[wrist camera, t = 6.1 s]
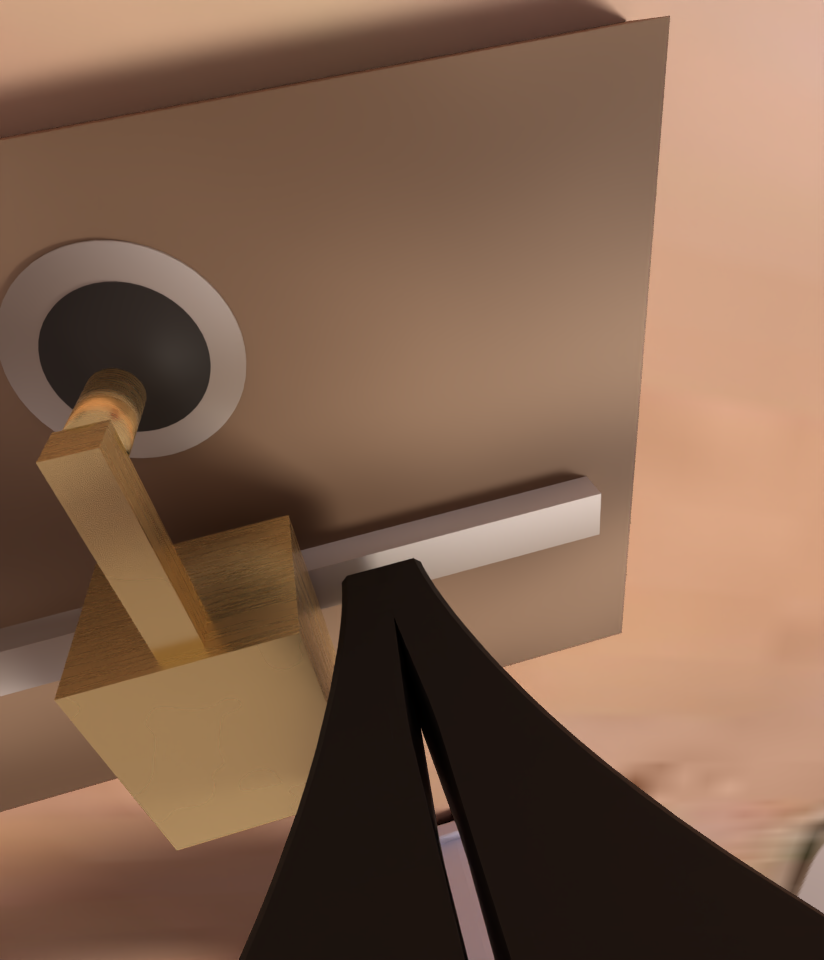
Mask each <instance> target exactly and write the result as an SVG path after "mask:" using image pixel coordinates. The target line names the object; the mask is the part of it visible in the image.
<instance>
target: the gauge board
mask: <svg viewBox="0 0 824 960" xmlns="http://www.w3.org/2000/svg"><path fill="white" fill-rule="evenodd" d="M669 22H670V16H666V17H658V18H650V19H642V20H634V21H627V22H622V23H617V24H611V25H606V26H600V27H595V28H590V29H584V30H579V31H574V32H568V33H563V34H557V35H552V36H547V37H541V38H536V39H531V40H525V41H520V42H514V43H509V44H504V45H498V46H493V47H487V48H482V49H477V50H471V51H466V52H461V53H455V54H450V55H444V56H439V57H434V58H428V59H423V60H418V61H412V62H407V63H401V64H396V65H391V66H385V67H380V68H375V69H369V70H364V71H358V72H353V73H348V74H342V75H337V76H332V77H326V78H321V79H315V80H310V81H305V82H299V83H294V84H289V85H283V86H278V87H272V88H267V89H262V90H256V91H251V92H246V93H240V94H235V95H229V96H224V97H219V98H213V99H208V100H202V101H197V102H192V103H186V104H181V105H176V106H170V107H165V108H159V109H154V110H149V111H143V112H138V113H133V114H127V115H122V116H116V117H111V118H106V119H100V120H95V121H90V122H84V123H79V124H73V125H68V126H63V127H57V128H52V129H47V130H41V131H36V132H30V133H25V134H20V135H14V136H9V137H4V138H0V812H2V811H5V810H9V809H12V808H16V807H19V806H23V805H26V804H30V803H33V802H37V801H40V800H44V799H47V798H51V797H54V796H57V795H61V794H64V793H68V792H71V791H75V790H78V789H82V788H85V787H89V786H92V785H96V784H99V783H103V782H106V781H110V780H113V779H116V778H117V777H116V775H115V774H114V773H113V772H112V770H111V769H110V768H109V767H108V766H107V764H106V763H105V762H104V761H103V759H102V758H101V757H100V756H99V754H98V753H97V752H96V751H95V750H94V748H93V747H92V746H91V745H90V743H89V742H88V741H87V740H86V739H85V737H84V736H83V735H82V734H81V732H80V731H79V730H78V729H77V727H76V726H75V725H74V724H73V723H72V721H71V720H70V719H69V718H68V716H67V715H66V714H65V713H64V712H63V710H62V709H61V708H60V707H59V705H58V704H57V703H56V702H55V700H54V699H55V696H56V693H57V689H58V686H59V683H60V680H61V676H62V673H63V670H64V667H65V663H66V660H67V657H68V653H69V650H70V647H71V644H72V640H73V637H74V634H75V631H76V627H77V624H78V621H79V617H80V614H81V611H82V608H83V604H84V601H85V598H86V595H87V591H88V588H89V585H90V582H91V578H92V575H93V572H94V568H95V565H96V564H97V562H96V560H95V559H94V557H93V555H92V554H91V552H90V550H89V549H88V547H87V546H86V544H85V542H84V541H83V539H82V537H81V536H80V534H79V532H78V531H77V529H76V528H75V526H74V524H73V523H72V521H71V519H70V518H69V516H68V515H67V513H66V511H65V510H64V508H63V506H62V505H61V503H60V501H59V500H58V498H57V497H56V495H55V493H54V492H53V490H52V488H51V487H50V485H49V484H48V482H47V480H46V479H45V477H44V475H43V474H42V472H41V470H40V469H39V467H38V466H37V464H36V462H37V460H38V458H39V456H40V454H41V452H42V450H43V449H44V447H45V445H46V443H47V441H48V439H49V437H50V436H51V434H52V433H54V432H58V431H62V430H63V428H64V426H65V424H66V422H67V420H68V418H69V416H70V414H71V412H72V410H73V409H74V407H75V405H76V403H77V401H78V399H79V397H80V395H81V393H82V391H83V389H84V387H85V385H86V383H87V381H88V379H89V378H90V377H91V376H92V375H93V374H94V373H95V372H97V371H99V370H102V369H106V368H118V369H122V370H125V371H128V372H130V373H132V374H133V375H134V376H136V377H137V378H138V379H139V380H140V381H141V383H142V384H143V386H144V388H145V390H146V403H145V406H144V410H143V413H142V416H141V420H140V423H139V426H138V429H137V433H136V436H135V439H134V443H133V446H132V449H131V452H130V456H129V458H130V460H131V462H132V464H133V466H134V468H135V470H136V472H137V474H138V476H139V478H140V480H141V482H142V484H143V486H144V488H145V490H146V492H147V494H148V496H149V498H150V500H151V502H152V504H153V506H154V508H155V510H156V512H157V514H158V516H159V518H160V520H161V522H162V524H163V526H164V528H165V530H166V532H167V534H168V536H169V538H170V540H171V542H172V544H176V543H180V542H184V541H188V540H192V539H196V538H200V537H204V536H207V535H211V534H215V533H219V532H223V531H227V530H231V529H235V528H239V527H243V526H247V525H251V524H255V523H259V522H263V521H266V520H270V519H274V518H278V517H282V516H286V515H289V518H290V521H291V523H292V526H293V529H294V532H295V535H296V538H297V541H298V544H299V547H300V550H301V553H302V556H303V559H304V562H305V564H306V567H307V570H308V573H309V576H310V579H311V582H312V585H313V588H314V591H315V594H316V597H317V600H318V603H319V605H320V608H321V611H322V614H323V617H324V620H325V623H326V626H327V629H328V632H329V635H330V638H331V641H332V643H333V646H334V649H335V652H336V653H337V648H338V640H339V632H340V623H341V612H342V581H343V580H344V579H345V577H346V576H348V575H352V574H355V573H359V572H363V571H367V570H370V569H374V568H378V567H382V566H385V565H389V564H393V563H397V562H400V561H404V560H408V559H412V558H414V559H416V560H418V561H421V563H422V565H423V567H424V569H425V571H426V572H427V574H428V575H429V577H430V579H431V580H432V582H433V583H434V585H435V586H436V588H437V589H438V591H439V592H440V593H441V595H442V596H443V598H444V599H445V600H446V602H447V603H448V604H449V606H450V607H451V608H452V610H453V611H454V612H455V614H456V615H457V616H458V617H459V618H460V620H461V621H462V622H463V623H464V625H465V626H466V627H467V628H468V629H469V630H470V632H471V633H472V634H473V635H474V636H475V637H476V639H477V640H478V641H479V642H480V643H481V644H482V645H483V647H484V648H485V649H486V650H487V651H488V652H489V653H490V655H491V656H492V657H493V658H494V659H495V660H496V661H497V662H498V663H499V664H500V665H501V666H502V667H505V666H509V665H512V664H516V663H519V662H523V661H526V660H529V659H533V658H536V657H540V656H543V655H547V654H550V653H554V652H557V651H561V650H564V649H568V648H571V647H575V646H578V645H582V644H585V643H588V642H592V641H595V640H599V639H602V638H606V637H609V636H613V635H616V634H620V633H622V621H623V608H624V595H625V582H626V570H627V557H628V544H629V531H630V519H631V506H632V493H633V480H634V468H635V455H636V442H637V430H638V417H639V404H640V391H641V379H642V366H643V353H644V340H645V328H646V315H647V302H648V289H649V277H650V264H651V251H652V238H653V226H654V213H655V200H656V188H657V175H658V162H659V149H660V137H661V124H662V111H663V98H664V86H665V73H666V60H667V47H668V35H669Z"/></svg>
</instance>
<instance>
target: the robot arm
mask: <svg viewBox="0 0 824 960" xmlns="http://www.w3.org/2000/svg"><path fill="white" fill-rule="evenodd" d="M421 729H422V732H423V735H424V738H425V740H426V743H427V746H428V749H429V752H430V754H431V757H432V760H433V763H434V765H435V768H436V771H437V774H438V776H439V779H440V782H441V785H442V788H443V790H444V793H445V796H446V799H447V801H448V804H449V807H450V810H451V812H452V815H453V818H454V821H451V822H448V823H445V824H442V825H438V826H437V822H436V816H435V810H434V804H433V798H432V792H431V786H430V780H429V774H428V768H427V762H426V756H425V750H424V744H423V738H422V732H421ZM239 960H824V914H823V913H822V912H820V911H819V910H817V909H816V908H814V907H813V906H811V905H810V904H808V903H806V902H805V901H803V900H802V899H800V898H798V897H797V896H795V895H794V894H792V893H791V892H789V891H787V890H786V889H784V888H783V887H781V886H779V885H778V884H776V883H775V882H773V881H771V880H770V879H768V878H767V877H765V876H764V875H762V874H761V873H759V872H758V871H756V870H755V869H753V868H752V867H750V866H749V865H747V864H746V863H744V862H742V861H741V860H739V859H738V858H736V857H735V856H733V855H732V854H730V853H729V852H727V851H726V850H724V849H723V848H722V847H720V846H719V845H717V844H716V843H714V842H713V841H711V840H710V839H709V838H707V837H706V836H704V835H703V834H701V833H700V832H698V831H697V830H696V829H694V828H693V827H691V826H690V825H688V824H687V823H686V822H684V821H683V820H681V819H680V818H678V817H677V816H676V815H674V814H673V813H672V812H670V811H669V810H668V809H666V808H665V807H664V806H662V805H661V804H660V803H658V802H657V801H656V800H654V799H653V798H652V797H651V796H649V795H648V794H647V793H645V792H644V791H643V790H641V789H640V788H639V787H637V786H636V785H635V784H633V783H632V782H631V781H629V780H628V779H627V778H625V777H624V776H623V775H621V774H620V773H619V772H618V771H616V770H615V769H614V768H612V767H611V766H610V765H609V764H607V763H606V762H605V761H604V760H602V759H601V758H600V757H599V756H598V755H596V754H595V753H594V752H593V751H592V750H591V749H589V748H588V747H587V746H586V745H585V744H583V743H582V742H581V741H580V740H579V739H577V738H576V737H575V736H574V735H573V734H572V733H571V732H569V731H568V730H567V729H566V728H565V727H564V726H563V725H562V724H560V723H559V722H558V721H557V720H556V719H555V718H554V717H553V716H551V715H550V714H549V713H548V712H547V711H546V710H545V709H544V708H543V707H542V706H541V705H540V704H539V703H538V702H536V701H535V700H534V699H533V698H532V697H531V696H530V695H529V694H528V693H527V692H526V691H525V690H524V689H523V688H522V687H521V686H520V685H519V684H518V683H517V682H516V681H515V680H514V679H513V678H512V677H511V676H510V675H509V674H508V673H507V672H506V671H505V670H504V669H503V667H502V666H501V665H500V664H499V663H498V662H497V661H496V660H495V659H494V658H493V657H492V656H491V655H490V653H489V652H488V651H487V650H486V649H485V648H484V647H483V645H482V644H481V643H480V642H479V641H478V640H477V639H476V637H475V636H474V635H473V634H472V633H471V632H470V630H469V629H468V628H467V627H466V626H465V625H464V623H463V622H462V621H461V620H460V618H459V617H458V616H457V615H456V614H455V612H454V611H453V610H452V608H451V607H450V606H449V604H448V603H447V602H446V600H445V599H444V598H443V596H442V595H441V593H440V592H439V591H438V589H437V588H436V586H435V585H434V583H433V582H432V580H431V579H430V577H429V575H428V574H427V572H426V571H425V569H424V567H423V565H422V563H421V561H418V560H416V559H414V558H412V559H408V560H404V561H400V562H397V563H393V564H389V565H385V566H382V567H378V568H374V569H370V570H367V571H363V572H359V573H355V574H352V575H348V576H346V577H345V579H344V580H343V581H342V612H341V623H340V632H339V640H338V648H337V653H336V659H335V665H334V671H333V676H332V682H331V687H330V692H329V697H328V701H327V706H326V710H325V714H324V718H323V722H322V726H321V730H320V734H319V739H318V743H317V747H316V750H315V754H314V757H313V761H312V764H311V768H310V771H309V775H308V778H307V781H306V785H305V788H304V791H303V794H302V797H301V800H300V804H299V807H298V810H297V813H296V816H295V819H294V822H293V825H292V827H291V830H290V833H289V836H288V838H287V841H286V844H285V847H284V850H283V852H282V855H281V858H280V861H279V863H278V866H277V869H276V872H275V874H274V877H273V879H272V882H271V885H270V887H269V890H268V892H267V895H266V897H265V900H264V902H263V905H262V907H261V910H260V912H259V914H258V917H257V919H256V921H255V924H254V926H253V928H252V931H251V933H250V935H249V938H248V940H247V942H246V945H245V947H244V949H243V952H242V954H241V956H240V958H239Z"/></svg>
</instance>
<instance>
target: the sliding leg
mask: <svg viewBox="0 0 824 960" xmlns="http://www.w3.org/2000/svg"><path fill="white" fill-rule="evenodd" d="M145 403H146V390H145V388H144V386H143V384H142V383H141V381H140V380H139V379H138V378H137V377H136V376H134V375H133V374H132V373H130V372H128V371H125V370H122V369H118V368H106V369H102V370H99V371H97V372H95V373H94V374H93V375H92V376H91V377H90V378H89V379H88V381H87V383H86V385H85V387H84V389H83V391H82V393H81V395H80V397H79V399H78V401H77V403H76V405H75V407H74V409H73V410H72V412H71V414H70V416H69V418H68V420H67V422H66V424H65V426H64V428H63V430H62V431H58V432H54V433H52V434H51V436H50V437H49V439H48V441H47V443H46V445H45V447H44V449H43V450H42V452H41V454H40V456H39V458H38V460H37V462H36V464H37V466H38V467H39V469H40V470H41V472H42V474H43V475H44V477H45V479H46V480H47V482H48V484H49V485H50V487H51V488H52V490H53V492H54V493H55V495H56V497H57V498H58V500H59V501H60V503H61V505H62V506H63V508H64V510H65V511H66V513H67V515H68V516H69V518H70V519H71V521H72V523H73V524H74V526H75V528H76V529H77V531H78V532H79V534H80V536H81V537H82V539H83V541H84V542H85V544H86V546H87V547H88V549H89V550H90V552H91V554H92V555H93V557H94V559H95V560H96V562H97V564H96V565H95V568H94V572H93V575H92V578H91V582H90V585H89V588H88V591H87V595H86V598H85V601H84V604H83V608H82V611H81V614H80V617H79V621H78V624H77V627H76V631H75V634H74V637H73V640H72V644H71V647H70V650H69V653H68V657H67V660H66V663H65V667H64V670H63V673H62V676H61V680H60V683H59V686H58V689H57V693H56V696H55V699H54V700H55V702H56V703H57V704H58V705H59V707H60V708H61V709H62V710H63V712H64V713H65V714H66V715H67V716H68V718H69V719H70V720H71V721H72V723H73V724H74V725H75V726H76V727H77V729H78V730H79V731H80V732H81V734H82V735H83V736H84V737H85V739H86V740H87V741H88V742H89V743H90V745H91V746H92V747H93V748H94V750H95V751H96V752H97V753H98V754H99V756H100V757H101V758H102V759H103V761H104V762H105V763H106V764H107V766H108V767H109V768H110V769H111V770H112V772H113V773H114V774H115V775H116V777H117V778H118V779H119V780H120V782H121V783H122V784H123V785H124V786H125V788H126V789H127V790H128V791H129V793H130V794H131V795H132V796H133V797H134V799H135V800H136V801H137V802H138V804H139V805H140V806H141V807H142V809H143V810H144V811H145V812H146V813H147V815H148V816H149V817H150V818H151V820H152V821H153V822H154V823H155V824H156V826H157V827H158V828H159V829H160V831H161V832H162V833H163V834H164V836H165V837H166V838H167V839H168V840H169V842H170V843H171V844H172V845H173V847H174V848H175V849H176V850H177V851H178V850H181V849H184V848H188V847H191V846H194V845H198V844H201V843H204V842H207V841H211V840H214V839H217V838H221V837H224V836H227V835H231V834H234V833H237V832H241V831H244V830H247V829H250V828H254V827H257V826H260V825H264V824H267V823H270V822H274V821H277V820H280V819H284V818H287V817H290V816H294V815H296V813H297V810H298V807H299V804H300V800H301V797H302V794H303V791H304V788H305V785H306V781H307V778H308V775H309V771H310V768H311V764H312V761H313V757H314V754H315V750H316V747H317V743H318V739H319V734H320V730H321V726H322V722H323V718H324V714H325V710H326V706H327V701H328V697H329V692H330V687H331V682H332V676H333V671H334V665H335V659H336V652H335V649H334V646H333V643H332V641H331V638H330V635H329V632H328V629H327V626H326V623H325V620H324V617H323V614H322V611H321V608H320V605H319V603H318V600H317V597H316V594H315V591H314V588H313V585H312V582H311V579H310V576H309V573H308V570H307V567H306V564H305V562H304V559H303V556H302V553H301V550H300V547H299V544H298V541H297V538H296V535H295V532H294V529H293V526H292V523H291V521H290V518H289V515H286V516H282V517H278V518H274V519H270V520H266V521H263V522H259V523H255V524H251V525H247V526H243V527H239V528H235V529H231V530H227V531H223V532H219V533H215V534H211V535H207V536H204V537H200V538H196V539H192V540H188V541H184V542H180V543H176V544H172V542H171V540H170V538H169V536H168V534H167V532H166V530H165V528H164V526H163V524H162V522H161V520H160V518H159V516H158V514H157V512H156V510H155V508H154V506H153V504H152V502H151V500H150V498H149V496H148V494H147V492H146V490H145V488H144V486H143V484H142V482H141V480H140V478H139V476H138V474H137V472H136V470H135V468H134V466H133V464H132V462H131V460H130V458H129V456H130V452H131V449H132V446H133V443H134V439H135V436H136V433H137V429H138V426H139V423H140V420H141V416H142V413H143V410H144V406H145Z"/></svg>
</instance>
